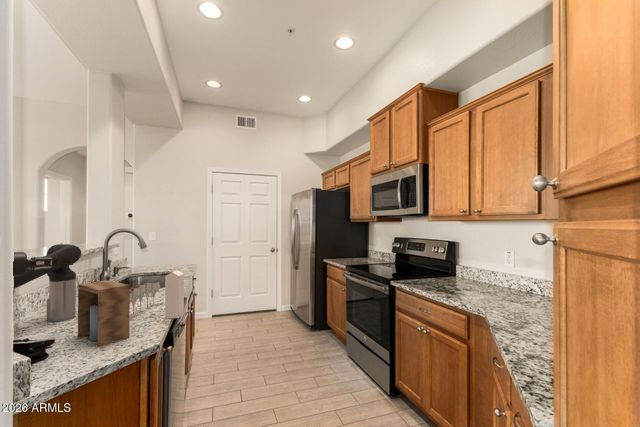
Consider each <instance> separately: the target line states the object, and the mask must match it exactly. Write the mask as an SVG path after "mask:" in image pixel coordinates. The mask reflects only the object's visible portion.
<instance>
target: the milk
mask: <svg viewBox="0 0 640 427" xmlns="http://www.w3.org/2000/svg"><path fill="white" fill-rule="evenodd" d="M164 281H165V282H164V288H165V289H164V292H165V293H164V294H165V296H164V298H165V300H164V305H165V306H164V309H165V310H164V311H165V312H164V319H179V318H181V317H182V316H184V314H185V273H183V272H182V271H180V270H179V267H178V266H176V267H173V268H171V272H170V273H168V274H167V275H165V277H164Z"/></svg>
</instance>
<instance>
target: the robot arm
mask: <svg viewBox="0 0 640 427" xmlns="http://www.w3.org/2000/svg"><path fill="white" fill-rule="evenodd" d="M13 252H14V261H13V276H14V289H13V290H15V289H18V288H20V287H21V286H24V285H26V284H28V283H30V282H32V281H34V280H36V279H38V278H40V277H43V276H44V275H47V276H48V280H49V284H48V286H49V287H48V288H49V289H48V298H47V299H46V315H45V316H46V322H61V321H66V320H70V319H73V318H74V317H76V312H77V310H76V309H77V308H76V307H77V305H76V304H77V273H76V272H75V271H73V270H72V269H71V268H70V266H74V264H75V263H77V262H78V261H79V260H80V258H81V256H82V250H81V248H80V247H78V246H77V245H74V244H69V243H68V244H61V243H59V244H57V243H56V244H53V245H52V246H50V247H49V248H48V249H47V252H46V255H43V256H37V257H36V256H34V257H33V256H32V257H30V258H29V259H28V255H27V253H26V252H24V251H13Z"/></svg>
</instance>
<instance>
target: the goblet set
mask: <svg viewBox="0 0 640 427" xmlns="http://www.w3.org/2000/svg"><path fill="white" fill-rule="evenodd" d="M160 288H161V284H160V282H159V281H146V282H144V283H140V284H139V283H138V284H136V286H130V304H132V314H129V322H130V321H132V319H133V318H137V316H138V317H139V316H140V314H144V313H145V312H144V311H148V309H149V310H151V308H155V307H158V306H159V304H155V296H156V294H157V293H158V292H159V290H160ZM150 294H151V295H152V301H153V302H152V304H150V306H151V307H148V306H149V296H150ZM144 295H145V297H146V307H145V309H146V310H142V302H143V298H144ZM138 300H139V304H140V305H139V306H140V309H139V310H140V311H137V313H140V314H138V315H137V313H135V304H136V302H137V301H138ZM154 306H155V307H154ZM143 312H144V313H143Z"/></svg>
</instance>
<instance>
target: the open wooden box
mask: <svg viewBox="0 0 640 427" xmlns="http://www.w3.org/2000/svg"><path fill="white" fill-rule="evenodd" d="M130 287H131V286H130V284H127V283H123V282H122V283H121V282H119V281H114V280H109V279H107V280H100V281H94V282H87V283H80V284H79V283H78V284H77V337H81V336H85V335H90V306H92V305H96V304H98V341H97V347H98V348H99V347H102V346H105V345H109V344H112V343H115V342H118V341H122V340H125V339H128V338H130V321H129V319H130V318H129V316H130V315H131V314H130V312H131V311H130V307H131V306H130V305H131V303H130Z"/></svg>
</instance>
